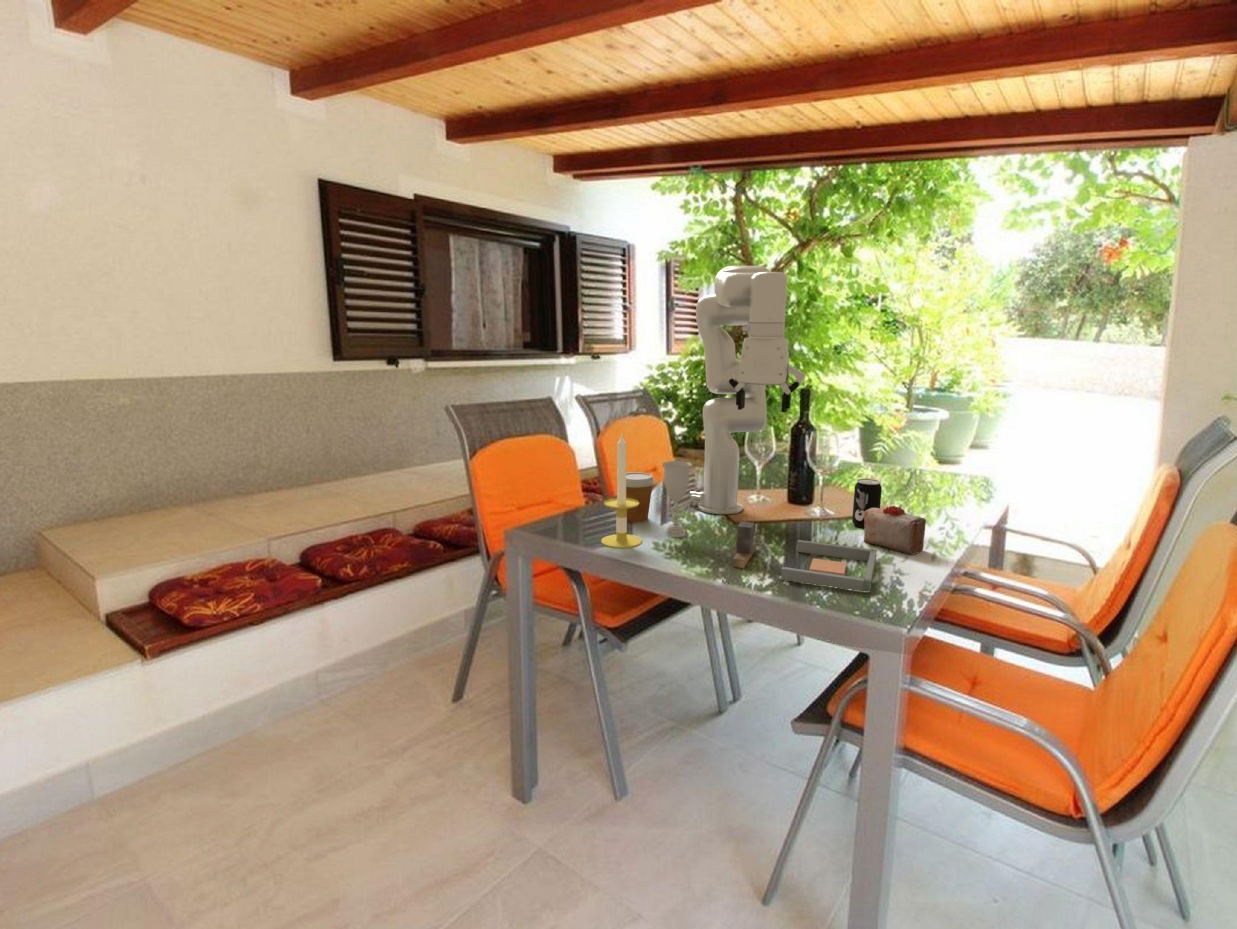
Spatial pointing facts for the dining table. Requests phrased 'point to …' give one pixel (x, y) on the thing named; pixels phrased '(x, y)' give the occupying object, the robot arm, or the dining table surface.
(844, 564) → the tile
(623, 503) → the candle
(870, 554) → the frame
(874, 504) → the beverage can
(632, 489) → the disposable coffee cup
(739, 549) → the scraper
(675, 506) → the chalice
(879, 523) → the food item
